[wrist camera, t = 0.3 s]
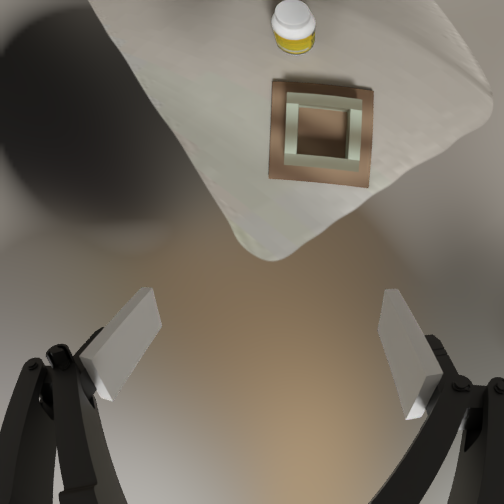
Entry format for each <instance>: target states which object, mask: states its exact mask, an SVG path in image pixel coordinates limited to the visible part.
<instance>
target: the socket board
mask: <svg viewBox="0 0 504 504" xmlns="http://www.w3.org/2000/svg"><path fill="white" fill-rule="evenodd" d="M373 100H374V91H370V90H364V89H357V88H350V87H342V86H334V85H324V84H313V83H299V82H276V81H273V84H272V112H271V137H270V161H269V179H283V180H296V181H308V182H318V183H328V184H338V185H347V186H355V187H363V188H368V187H369V176H370V165H371V151H372V133H373Z"/></svg>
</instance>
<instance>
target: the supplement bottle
mask: <svg viewBox="0 0 504 504" xmlns="http://www.w3.org/2000/svg"><path fill="white" fill-rule="evenodd" d="M271 24H272V28H273V31H274V35H275V39H276V43H277V45H278V47H279V48H280V49H281V50H282V51H283V52H284V53H286V54H289V55H294V56H299V55H303V54H306V53H307V52H309V51H310V50H311V49H312V47H313V45H314V41H315V28H316V21H315V18H314V16H313V14H312V13H311V12H310V9H309V7H308V6H307V5H306V4H305V3H304V2H302V1H299V0H284V1H282V2H280V3H279V4H278V5H277V6H276V8H275V13H274V14H273V16H272V19H271Z"/></svg>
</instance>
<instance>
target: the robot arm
mask: <svg viewBox="0 0 504 504" xmlns="http://www.w3.org/2000/svg"><path fill="white" fill-rule="evenodd" d="M161 327H162V324H161V320H160V316H159V313H158V308H157V305H156V300H155V296H154V292H153V288H144V287H141V289H140V290H139V291H138V292H137V293H136V294H135V295H134V296H133V297H132V298H131V299H130V300H129V301H128V302H127V303H126V305H125V306H124V307H123V308H122V309H121V310H120V311H119V312H118V313H117V314H116V315H115V316H114V318H113V319H112V320H111V321H110V322H109V323H108V324H107V325H106V326H105V327H102V328H100V329H99V330H97V331H95V332H94V334H92V336H91V337H90V339H88V340H87V341H86V343H85V344H83V346H82V347H81V348H80V349H79V350H78V351H77V352H76V354H75V355H74V356H72V354H71V352H70V350H69V347H68V346H67V345H65V344H57V345H55V346H53V347H51V348H50V349H49V350H48V351H47V352H46V357H47V359H48V361H49V363H50V364H51V366H45V365H44V363H43V361H42V359H40V358H32V359H30V360H28V361H27V362H26V363H25V364H24V366H23V368H22V370H21V373H20V375H19V378H18V381H17V383H16V386H15V388H14V391H13V394H12V397H11V399H10V402H9V405H8V408H7V411H6V415H5V418H4V421H3V424H2V428H1V431H0V504H53V478H54V467H55V457H56V448H57V450H58V457H59V463H60V469H61V475H62V480H63V485H64V491H62V492H60V493H59V501H60V504H127V501H126V499H125V496H124V494H123V491H122V489H121V486H120V483H119V480H118V478H117V475H116V472H115V469H114V466H113V463H112V460H111V457H110V453H109V450H108V447H107V443H106V440H105V436H104V432H103V429H102V425H101V420H100V417H99V412H98V408H97V403H96V399H95V397H94V395H93V394H94V393H95V391H96V390H97V391H98V393H99V395H100V397H101V398H104V399H106V400H110V401H114V399H115V398H116V396H117V395H118V393H119V391H120V390H121V388H122V387H123V385H124V383H125V382H126V380H127V379H128V377H129V376H130V374H131V373H132V371H133V369H134V368H135V366H136V365H137V363H138V362H139V360H140V358H141V357H142V356H143V354H144V353H145V351H146V350H147V348H148V346H149V345H150V343H151V342H152V340H153V339H154V337H155V336H156V334H157V333H158V331H159V330H160V328H161ZM378 333H379V336H380V339H381V342H382V345H383V348H384V351H385V354H386V357H387V359H388V363H389V366H390V369H391V372H392V375H393V378H394V381H395V385H396V388H397V391H398V395H399V398H400V401H401V405H402V409H403V412H404V416H405V420H408V419H414V418H419V417H421V416H422V414H423V413H424V411H425V409H426V410H427V414H428V417H427V419H426V420H425V422H424V424H423V425H422V427H421V429H420V431H419V433H418V434H417V436H416V438H415V439H414V441H413V443H412V444H411V446H410V447H409V449H408V450H407V452H406V454H405V455H404V457H403V458H402V460H401V461H400V463H399V464H398V465H397V467H396V468H395V470H394V471H393V473H392V474H391V475H390V477H389V478H388V479H387V481H386V482H385V483H384V485H383V486H382V487H381V489H380V490H379V491H378V492H377V494H376V495H375V496H374V497H373V498H372V500H371V501H370V502H369V503H368V504H419V503H420V501H421V500H422V498H423V497H424V495H425V493H426V492H427V490H428V488H429V487H430V485H431V483H432V482H433V480H434V478H435V476H436V475H437V473H438V471H439V469H440V467H441V465H442V463H443V461H444V459H445V457H446V456H447V453H448V451H449V449H450V447H451V445H452V443H453V441H454V439H455V436H456V434H457V432H458V430H463V433H462V440H461V446H460V452H459V458H458V463H457V468H456V472H455V477H454V481H453V485H452V489H451V492H450V496H449V499H448V504H504V379H503V378H500V377H495V378H493V379H491V381H490V382H489V383H488V385H487V386H479V385H472V382H471V381H470V380H469V379H468V378H467V377H465V376H462V375H459V374H458V372H457V371H456V369H455V367H454V365H453V363H452V361H451V359H450V357H449V356H448V355H447V352H446V350H445V349H444V347H443V345H442V343H441V341H440V340H439V339H438V338H436V337H435V336H434V335H424V334H423V332H422V331H421V329H420V327H419V325H418V323H417V321H416V319H415V318H414V316H413V314H412V313H411V311H410V309H409V307H408V305H407V304H406V302H405V300H404V299H403V297H402V295H401V294H400V292H399V290H398V289H385V292H384V298H383V304H382V310H381V315H380V320H379V325H378ZM39 397H40V398H41V399H40V402H39Z"/></svg>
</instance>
